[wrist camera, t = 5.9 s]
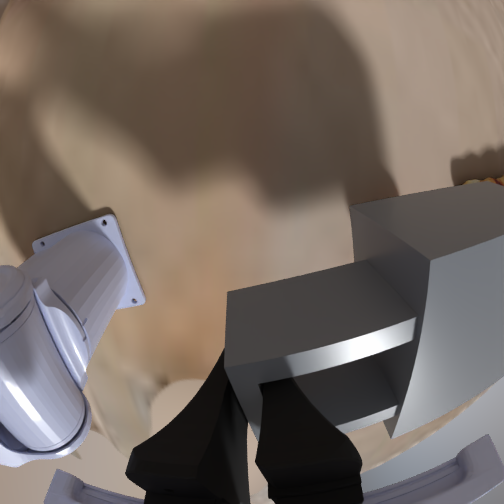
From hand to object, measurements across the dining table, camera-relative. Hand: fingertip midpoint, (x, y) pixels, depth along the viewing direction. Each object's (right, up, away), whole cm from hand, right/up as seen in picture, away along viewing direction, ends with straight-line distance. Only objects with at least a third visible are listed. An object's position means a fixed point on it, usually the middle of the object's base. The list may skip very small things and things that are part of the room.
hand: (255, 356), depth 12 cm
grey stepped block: (+7, +3, +2) cm, 8 cm away
